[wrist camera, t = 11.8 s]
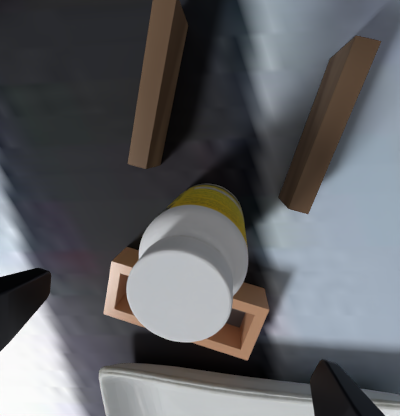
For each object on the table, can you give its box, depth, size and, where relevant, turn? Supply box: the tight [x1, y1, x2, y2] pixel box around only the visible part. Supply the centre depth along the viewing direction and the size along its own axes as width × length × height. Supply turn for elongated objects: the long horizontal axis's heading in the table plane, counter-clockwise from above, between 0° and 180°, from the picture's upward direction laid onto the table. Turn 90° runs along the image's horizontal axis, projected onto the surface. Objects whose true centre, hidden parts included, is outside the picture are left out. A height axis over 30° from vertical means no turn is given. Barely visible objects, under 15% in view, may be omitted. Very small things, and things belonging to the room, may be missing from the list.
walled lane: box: [128, 0, 381, 214], centre depth 14 cm, size 11×9×3 cm
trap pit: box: [104, 247, 269, 361], centre depth 18 cm, size 12×5×2 cm, turn 76°
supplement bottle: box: [126, 184, 248, 342], centre depth 13 cm, size 5×5×10 cm
